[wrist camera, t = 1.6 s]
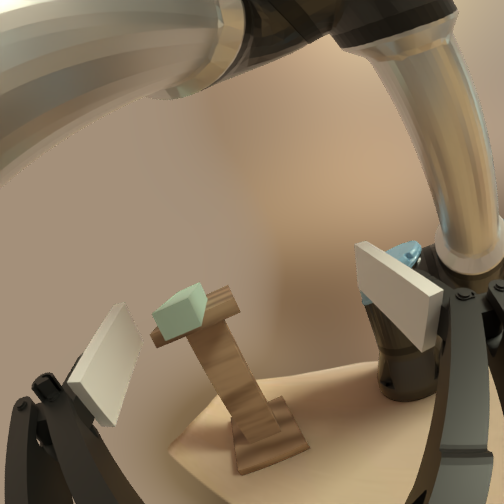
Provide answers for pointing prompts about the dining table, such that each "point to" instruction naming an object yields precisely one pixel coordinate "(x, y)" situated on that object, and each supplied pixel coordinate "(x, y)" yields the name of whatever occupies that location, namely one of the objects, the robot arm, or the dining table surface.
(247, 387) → the walnut stand
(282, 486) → the dining table surface
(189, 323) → the sage bar
